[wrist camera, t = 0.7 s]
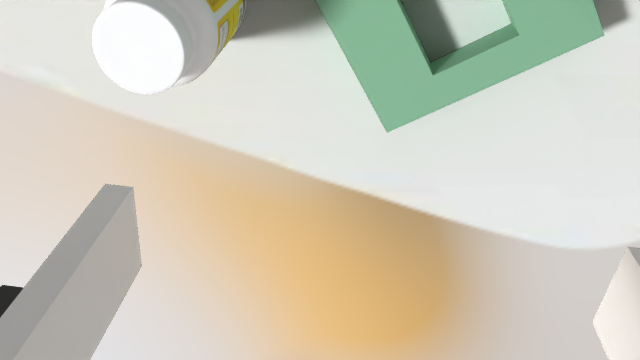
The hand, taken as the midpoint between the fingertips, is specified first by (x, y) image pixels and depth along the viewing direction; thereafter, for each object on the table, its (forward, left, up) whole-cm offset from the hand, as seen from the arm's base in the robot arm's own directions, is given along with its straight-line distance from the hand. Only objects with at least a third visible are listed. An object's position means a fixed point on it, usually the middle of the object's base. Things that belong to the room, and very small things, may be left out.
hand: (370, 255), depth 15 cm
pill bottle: (-7, -10, -25) cm, 27 cm away
